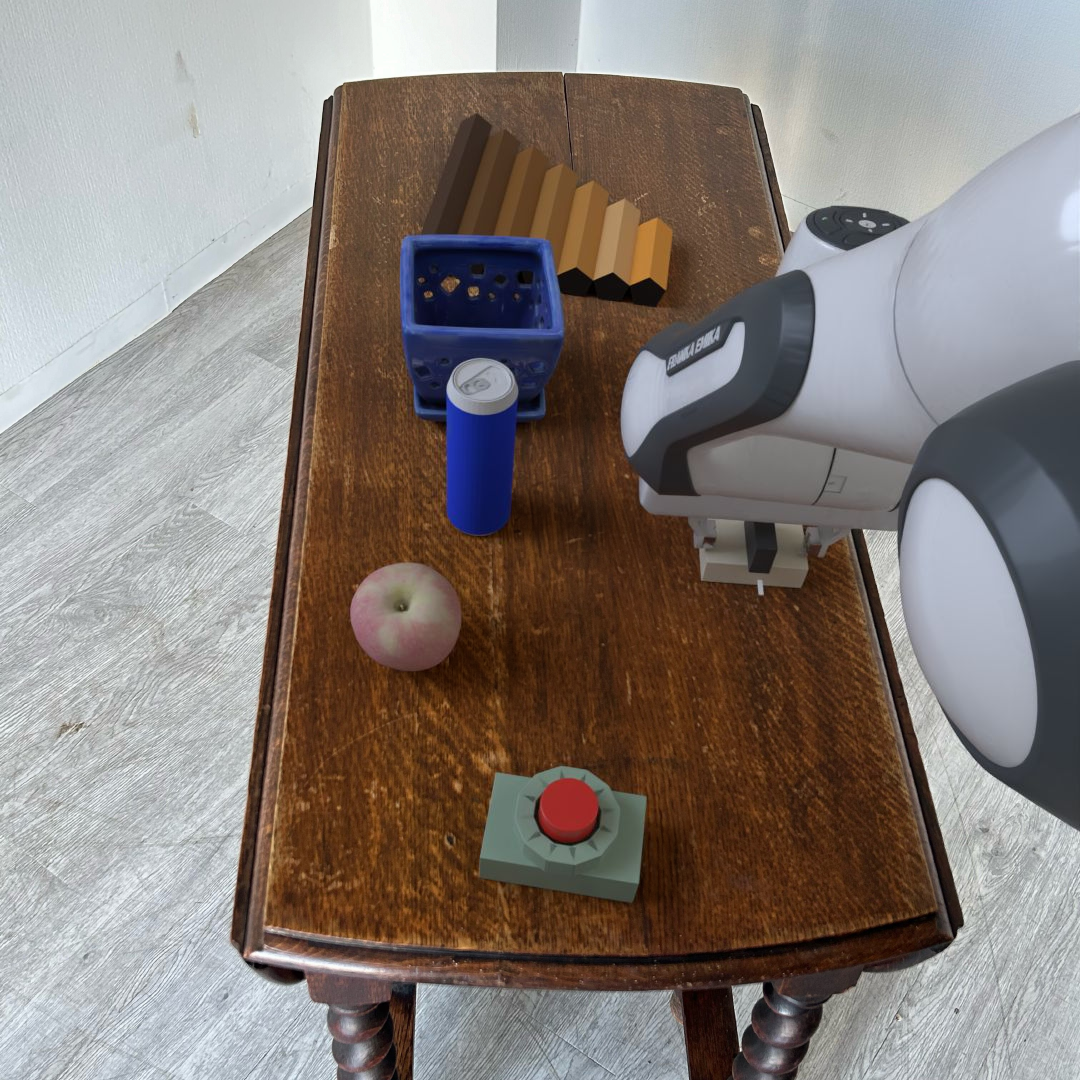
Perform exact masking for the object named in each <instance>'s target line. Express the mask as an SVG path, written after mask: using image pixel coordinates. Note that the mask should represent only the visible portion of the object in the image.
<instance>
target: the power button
mask: <svg viewBox="0 0 1080 1080" xmlns="http://www.w3.org/2000/svg"><path fill="white" fill-rule="evenodd" d="M597 813H598V800H597V797H596V794H595V793H594V791H593V790H592V789H591V788H590V786H588V785H587V784H586V783H584V782H582V781H580V780H578V779H574V778H562V779H558V780H556V781H554V782H552V783H551V784H549V785H548V786H547V787H546V789H545V790H544V792H543V793H542V796H541V800H540V807H539V822H540V824H541V827H542V829H543V830H544V831H545V833H546V834H547V835H548V836H550V837H551V838H553V839H554V840H556V841H559V842H563V843H573V842H578V841H580V840H582V839H584V838H586V837H587V836H588V835H589V834H590V833H591V831H592V830H593V828H594V825H595V822H596V818H597Z"/></svg>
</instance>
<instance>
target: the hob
mask: <svg viewBox="0 0 1080 1080" xmlns="http://www.w3.org/2000/svg"><path fill="white" fill-rule="evenodd" d="M707 519H710V518H707ZM710 520H715V521H716V528H715V530H716V532H717V539H716V542H715V543H714V549H698V552H699V567H700V581H701V582H710V583H711V582H712V583H725V584H738V585H752V586H757V593H758V596H760V597H761V596H764V595H765V593H764V586H766V587H779V588H780V587H781V588H794V589H802V587H803V585H804V581H805V579H806V577H807V574H808V571H809V563H808V556H805V555H804V548H803V537H804V535H805V534H804V527H803V526H804V525H795V524H781V523H775V530H776V538H777V547H778V551H777V554H776V556H775V559H774V562H773V564H772V567H771V570H770V573H769V574H764V573H750V572H749V570H748V560H747V550H746V540H745V530H744V521H739V520H724V519H710Z"/></svg>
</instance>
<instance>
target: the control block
mask: <svg viewBox="0 0 1080 1080" xmlns="http://www.w3.org/2000/svg"><path fill="white" fill-rule="evenodd" d="M562 778H574V779H578V780H580V781H582V782H584V783H586V784H587V785H588V786H590V788H591V789H592V790H593V791H594V793H595V794H596V797H597V800H598V813H597V818H596V822H595V825H594V828H593V830H592V831H591V833H590V834H589V835H588V836H587V837H586V838H584V839H582V840H580V841H578V842H573V843H563V842H559V841H556V840H554V839H553V838H551V837H550V836H548V835H547V834H546V833H545V831H544V830H543V829H542V827H541V824H540V822H539V807H540V800H541V796H542V793H543V792H544V790H545V789H546V787H547V786H548V785H549V784H551V783H552V782H554V781H556V780H558V779H562ZM491 791H492V792H491V796H490V801H489V807H488V811H487V817H486V823H485V829H484V833H483V838H482V843H481V849H480V855H479V867H478V878H479V879H484V880H490V881H495V882H502V883H508V884H514V885H520V886H525V887H526V886H527V887H533V888H540V889H545V890H551V891H557V892H562V893H568V894H573V895H574V894H576V895H582V896H587V897H593V898H600V899H605V900H611V901H617V902H624V903H629V904H633V902H634V899H635V896H636V894H637V890H638V887H639V884H640V878H641V877H640V875H641V866H642V853H643V843H644V835H645V834H644V831H645V821H646V810H647V801H648V800H647V799H648V797H647V795H641V794H635V793H629V792H622V791H617V790H612V788H611V786H609V785H608V783H606V782H605V781H603V780H602V779H601V778H599V777H598V776H597V775H595V774H593V773H592V772H591V771H590V770H589V769H584V768H578V767H572V766H566V765H560V766H556V767H553V768H550V769H547V770H544V771H541V772H538V773H535V774H534V775H533V776H532V777H529V776H524V775H516V774H510V773H504V772H496V771H495V775H494V781H493V785H492V790H491Z"/></svg>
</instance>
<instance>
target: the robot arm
mask: <svg viewBox="0 0 1080 1080" xmlns="http://www.w3.org/2000/svg"><path fill="white" fill-rule="evenodd" d="M620 433H621V440H622V444H623V451H624V456H625V458H626V460H627V462H628V463H629V465H630V466H631V467H632V469H633V470H634V472H635V473H636V474H637V475H638V495H639V496H638V497H639V498H638V499H639V504H640V505H641V506H642V507H643V509H644V510H645V511H646V512H647V513H648V514H650V515H654V516H655V515H656V516H669V517H683V518H687V523H688V525H689V526H690V528H691V530H692V531H693V546H694V549H698V550H699V549H714V543H715V542H716V539H717V532H716V530H715V528H716V521H715V520H710V519H724V520H739V521H753V522H767V523H781V524H795V525H802V526H807V527H806V530H805V534H804V537H803V548H804V555H805V556H807V557H814V558H815V557H816V558H824V557H825V555H826V553H827V551H828V548H829V546H832V545H833V544H835V543H837V542H838V541H840V540H842V539H844V538H845V537H846V536H848V535H850V533H851V531H852V529H853V530H865V531H866V530H867V531H881V532H882V531H883V532H897V533H896V534H897V535H896V540H897V560H898V568H899V593H900V601H901V602H900V603H901V608H902V614H903V618H904V623H905V628H906V631H907V635H908V639H909V641H910V645H911V647H912V651H913V654H914V656H915V658H916V661H917V663H918V666H919V668H920V670H921V672H922V675H923V677H924V679H925V680H926V682H927V684H928V686H929V688H930V690H931V691H932V693H933V694H934V696H935V699H936V700H937V703H938V705H939V707H940V709H941V711H942V713H943V715H944V716H945V718H946V720H947V722H948V724H949V725H950V727H951V729H952V731H953V732H954V734H955V735H956V737H957V739H958V740H959V741H960V743H961V745H962V746H963V747H964V748H965V750H966V751H967V753H968V754H969V755H970V756H971V757H972V759H973V760H974V761H975V762H976V763H977V764H978V765H979V766H980V767H981V768H982V769H983V770H984V771H985V772H986V773H988V774H989V775H990V776H992V777H993V778H995V779H996V780H998V781H999V782H1001V783H1002V784H1003V785H1005V786H1007V787H1008V788H1010V789H1011V790H1013V791H1015V792H1016V793H1017V794H1019V795H1020V796H1022V797H1024V798H1025V799H1026V800H1028V801H1029V802H1031V803H1032V804H1034V805H1035V806H1037V807H1039V808H1041V809H1042V810H1043V811H1045V812H1046V813H1048V814H1050V815H1051V816H1053V817H1055V818H1056V819H1058V820H1060V821H1061V822H1063V823H1064V824H1066V825H1068V826H1069V827H1071V828H1072V829H1074V830H1075V831H1078V832H1080V111H1078V112H1076V113H1074V114H1072V115H1069V116H1068V117H1066V118H1064V119H1061V120H1060V121H1058V122H1056V123H1055V124H1052V125H1050V126H1049V127H1047V128H1044V129H1043V130H1041V131H1040V132H1038V133H1036V134H1035V135H1033V136H1031V137H1030V138H1029V139H1027V140H1025V141H1024V142H1022V143H1020V144H1018V145H1017V146H1015V147H1014V148H1012V149H1010V150H1009V151H1007V152H1006V153H1003V154H1002V155H1001V156H999V157H998V158H997V159H995V160H994V161H993V162H991V163H990V164H988V165H987V166H986V167H984V168H983V169H982V170H980V171H979V172H977V173H976V174H975V175H974V176H973V177H971V178H970V179H968V181H967V182H965V183H964V184H963V185H961V186H960V188H958V189H957V190H956V191H955V192H954V193H952V194H951V195H950V196H949V197H948V198H947V199H946V200H944V201H943V203H941V204H940V205H938V206H937V207H935V208H933V209H932V210H930V211H929V212H927V213H924V215H922V216H920V217H918V218H915V219H914V220H912V221H910V220H908V219H907V218H905V217H903V216H900V215H897V214H895V213H892V212H890V211H889V210H884V209H878V208H873V207H867V206H866V207H864V206H857V205H855V206H854V205H830V206H826V207H821V208H816V209H814V210H812V211H811V212H809V213H808V214H806V215H805V216H804V217H803V218H802V220H801V221H800V223H799V224H798V225H797V227H796V228H795V231H794V233H793V235H792V236H791V238H790V240H789V243H788V244H787V247H786V249H785V251H784V253H783V255H782V258H781V260H780V262H779V265H778V268H777V271H776V273H775V275H774V277H772V278H769V279H767V280H764V281H761V282H758V283H755V284H753V285H751V286H749V287H747V288H746V289H743V290H742V291H740V292H739V293H737V294H735V295H734V296H732V297H731V298H729V299H728V300H726V301H725V302H724V303H722V304H720V305H719V306H718V307H716V308H714V309H713V310H712V311H710V312H709V313H707V314H706V315H704V316H703V317H702V318H700V319H698V320H697V321H696V322H694V323H691V322H685V321H679V320H678V321H674V322H672V323H670V324H669V325H667V326H665V327H664V328H663V329H661V330H659V332H657V333H656V334H655V335H653V336H652V337H651V338H650V339H648V340H647V341H646V343H644V344H643V345H642V346H641V347H640V348H639V350H638V351H637V354H636V356H635V358H634V362H633V363H632V365H631V367H630V369H629V372H628V374H627V377H626V381H625V384H624V388H623V392H622V398H621V407H620ZM707 518H710V519H707Z"/></svg>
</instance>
